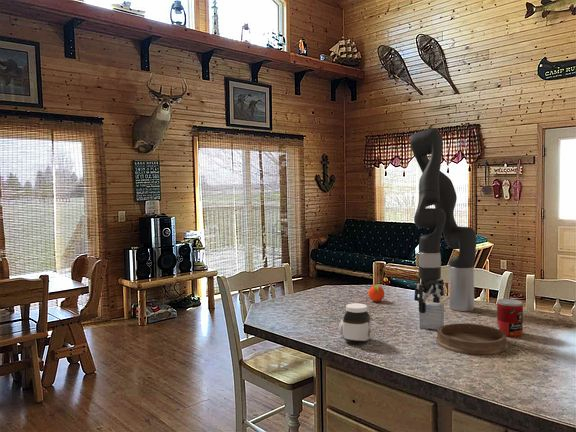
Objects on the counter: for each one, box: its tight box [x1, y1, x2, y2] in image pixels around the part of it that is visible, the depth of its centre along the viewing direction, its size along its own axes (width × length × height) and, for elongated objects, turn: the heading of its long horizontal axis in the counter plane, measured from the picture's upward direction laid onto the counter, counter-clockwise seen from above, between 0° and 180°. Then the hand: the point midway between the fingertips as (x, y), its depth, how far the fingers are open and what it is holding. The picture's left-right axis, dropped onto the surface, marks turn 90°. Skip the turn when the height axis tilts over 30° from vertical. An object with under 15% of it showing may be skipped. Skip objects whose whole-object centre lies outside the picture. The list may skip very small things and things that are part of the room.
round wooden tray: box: [436, 323, 509, 356], centre depth 151 cm, size 21×21×4 cm
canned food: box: [496, 298, 524, 338], centre depth 160 cm, size 8×8×11 cm
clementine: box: [367, 284, 385, 303], centre depth 208 cm, size 8×7×7 cm
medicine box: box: [418, 301, 445, 331], centre depth 168 cm, size 8×4×9 cm, turn 65°
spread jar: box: [337, 302, 372, 345], centre depth 158 cm, size 12×11×12 cm
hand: (429, 310), depth 168 cm, fingers open, 8 cm apart
